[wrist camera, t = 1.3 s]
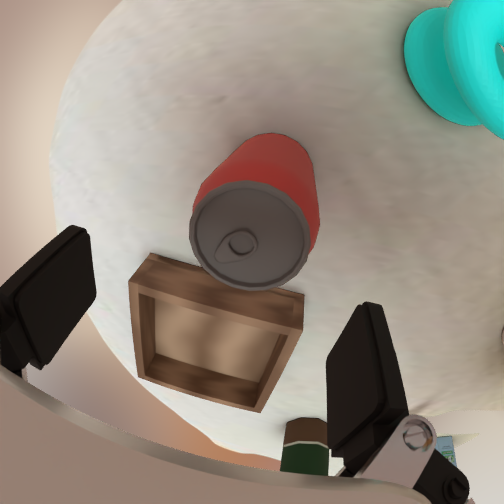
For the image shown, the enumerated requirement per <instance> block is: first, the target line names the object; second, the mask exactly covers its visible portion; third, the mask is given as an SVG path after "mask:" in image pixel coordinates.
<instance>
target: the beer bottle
mask: <svg viewBox="0 0 504 504" xmlns="http://www.w3.org/2000/svg"><path fill="white" fill-rule="evenodd" d="M328 467H329V448H328V446H327V423H325V422H324V421H322V420H320V419H318V418H299V419H296V420H293V421H290V422H288V423H287V425H286V431H285V436H284V443H283V451H282V459H281V467H280V471H281V472H289V473H297V474H307V475H319V476H328Z"/></svg>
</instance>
